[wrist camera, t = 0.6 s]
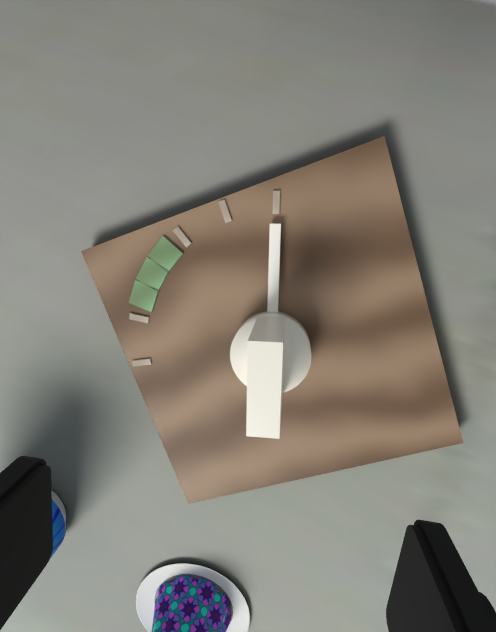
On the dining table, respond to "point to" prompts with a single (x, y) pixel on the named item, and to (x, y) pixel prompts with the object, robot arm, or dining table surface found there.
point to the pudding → (190, 602)
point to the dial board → (295, 300)
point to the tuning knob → (270, 354)
